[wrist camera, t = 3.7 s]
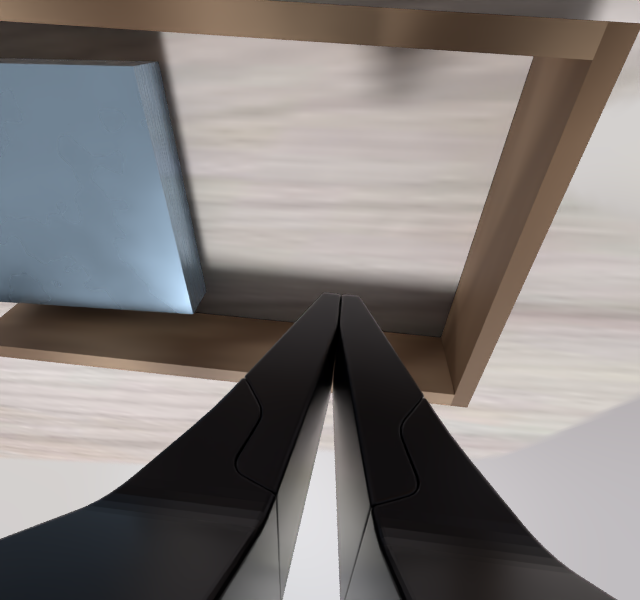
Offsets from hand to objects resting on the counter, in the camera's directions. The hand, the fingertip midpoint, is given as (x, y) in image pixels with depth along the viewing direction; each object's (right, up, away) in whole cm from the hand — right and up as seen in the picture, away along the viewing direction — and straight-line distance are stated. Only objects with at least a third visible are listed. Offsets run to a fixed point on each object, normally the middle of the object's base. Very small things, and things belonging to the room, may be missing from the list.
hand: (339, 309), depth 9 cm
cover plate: (-9, +4, +5) cm, 11 cm away
